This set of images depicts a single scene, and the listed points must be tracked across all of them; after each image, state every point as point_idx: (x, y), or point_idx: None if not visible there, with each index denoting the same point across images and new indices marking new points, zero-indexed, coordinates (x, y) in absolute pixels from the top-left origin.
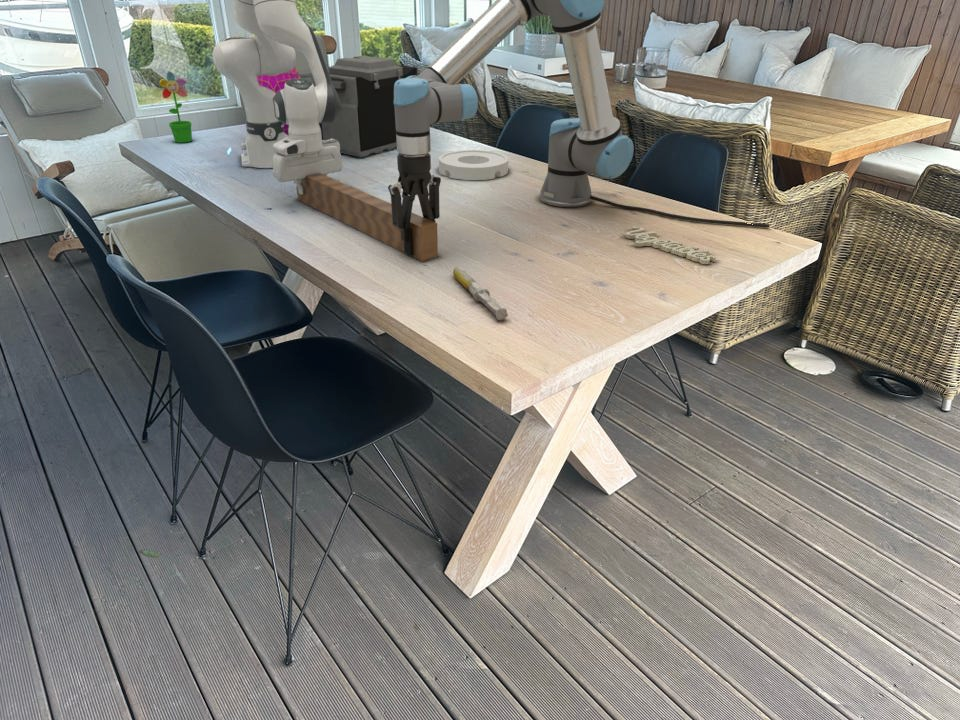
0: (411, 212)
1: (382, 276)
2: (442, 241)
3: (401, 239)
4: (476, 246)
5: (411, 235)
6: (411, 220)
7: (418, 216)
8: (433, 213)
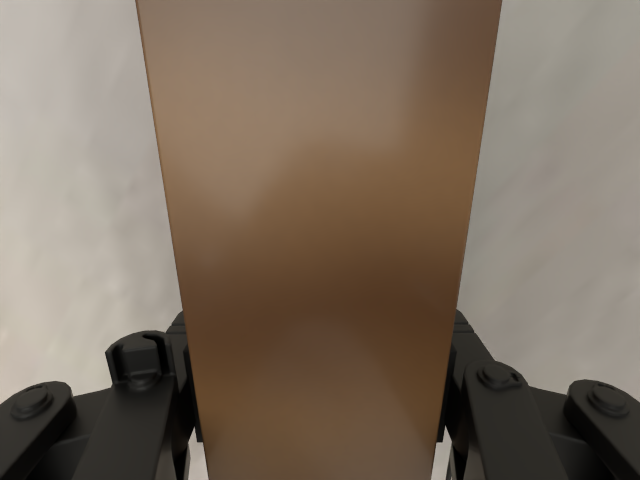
0: (461, 212)
1: (21, 384)
2: (563, 207)
3: (180, 316)
4: (616, 371)
5: None
6: (252, 447)
7: (411, 395)
8: (589, 476)
